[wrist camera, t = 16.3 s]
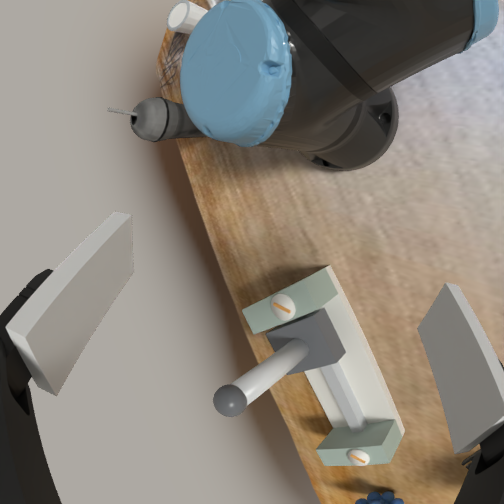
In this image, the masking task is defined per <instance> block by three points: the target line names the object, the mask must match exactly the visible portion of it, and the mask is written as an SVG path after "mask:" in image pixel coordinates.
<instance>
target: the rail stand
mask: <svg viewBox="0 0 504 504" xmlns="http://www.w3.org/2000/svg"><path fill="white" fill-rule="evenodd" d="M322 308H325V310H326V312H327V314H328V316H329V318H330V320H331V322H332V324H333V326H334V328H335V330H336V332H337V334H338V336H339V338H340V340H341V343H342V345H343V347H344V349H345V351H346V353H345V354H344V355H343V357H342V358H341V359H340V360H339V361H338V362H337V363H335V364H331V365H327V366H324V367H320V368H316V369H311V370H307V371H304V372H305V374H306V376H307V378H308V380H309V382H310V384H311V386H312V388H313V390H314V392H315V393H316V395H317V397H318V399H319V401H320V403H321V405H322V407H323V409H324V411H325V413H326V415H327V417H328V419H329V421H330V423H331V425H332V427H333V429H332V430H331V432H330V433H329V434H328V435H327V437H326V438H325V439H324V440H323V441H322V443H321V444H320V445H319V446H318V447H317V449H316V451H317V453H318V455H319V456H320V458H321V460H322V462H323V463H324V465H325V466H350V465H358V466H365V465H372V464H385V463H390V461H391V459H392V457H393V455H394V453H395V451H396V449H397V447H398V445H399V443H400V441H401V439H402V437H403V435H404V432H405V429H404V427H403V424H402V422H401V419H400V417H399V414H398V412H397V409H396V407H395V404H394V402H393V400H392V397H391V395H390V392H389V390H388V388H387V385H386V383H385V381H384V378H383V376H382V374H381V371H380V369H379V367H378V365H377V362H376V360H375V358H374V356H373V353H372V351H371V349H370V347H369V345H368V342H367V340H366V338H365V336H364V334H363V331H362V329H361V327H360V325H359V323H358V321H357V319H356V317H355V315H354V312H353V310H352V308H351V306H350V304H349V302H348V300H347V298H346V296H345V294H344V292H343V290H342V288H341V286H340V284H339V282H338V280H337V278H336V276H335V274H334V272H333V270H332V268H331V266H330V265H329V266H327V267H325V268H323V269H321V270H319V271H317V272H315V273H314V274H312V275H310V276H308V277H306V278H304V279H302V280H300V281H298V282H296V283H294V284H292V285H290V286H288V287H286V288H284V289H282V290H280V291H278V292H276V293H274V294H272V295H270V296H268V297H266V298H264V299H262V300H260V301H258V302H256V303H254V304H252V305H251V306H249V307H247V308H245V309H243V310H242V312H243V314H244V316H245V318H246V320H247V322H248V324H249V326H250V328H251V330H252V332H253V334H256V333H259V332H262V331H265V330H267V329H270V328H272V327H275V326H278V325H282V324H284V323H287V322H289V321H292V320H294V319H297V318H299V317H302V316H304V315H307V314H309V313H312V312H314V311H317V310H319V309H322Z"/></svg>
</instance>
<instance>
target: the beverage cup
mask: <svg viewBox="0 0 504 504" xmlns="http://www.w3.org/2000/svg"><path fill="white" fill-rule="evenodd" d="M107 111H109V112H115V113H122V114H127V115H131V118H130V123H131V127H132V130H133V131H134V133H135V134H136V135H137V136H138V137H140V138H141V139H144V140H148V141H152V142H157V141H161V140H166V139H173V138H192V137H206V136H207V135H205V134H204V133H202V132H201V131H200V130H199V129H198V128H197V127H196V126H195V125H194V124H193V122H192V121H191V119H190V117H189V116H188V114H187V112H186V109H185V106H184V105H183V104H179V103H175V102H172V101H170V100H167V99H164V98H162V97H156V98H149V99H146V100H144V101H142V102H141V103H139V104H138V105H137V106H136V107H135V108H134V110H133V112H130V111H124V110H119V109H112V108H108V110H107Z"/></svg>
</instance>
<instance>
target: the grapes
mask: <svg viewBox="0 0 504 504" xmlns="http://www.w3.org/2000/svg"><path fill="white" fill-rule="evenodd" d="M355 504H404V502H403V500H402V499H400V498H395V499H394V494H393V493H392V492H390V491H387V492H384V493H383V494H382V495H380V494H379V493H378V492H371V493H370V494H369V495H368V496H367V500H366V499H359V500H357V501H356V502H355Z"/></svg>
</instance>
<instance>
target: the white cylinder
mask: <svg viewBox="0 0 504 504" xmlns="http://www.w3.org/2000/svg"><path fill="white" fill-rule="evenodd" d="M207 12H208V10H206V9H204V8H202V7H200V6H198V5H196V4H194V3H191V2H189V1H187V0H181V1H179V2H178V3H176V5H175V6H174V7H173V8H172V9H171V11H170V13H169V15H168V18H167V27H168V29H169V30H171V31H176V32H182V33H187V34H191V33H192V31H193V29H194V28H195V26H196V25H197V23H198V22H199V20H200V19H201V18H202V17H203V16H204V15H205V14H206V13H207Z"/></svg>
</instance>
